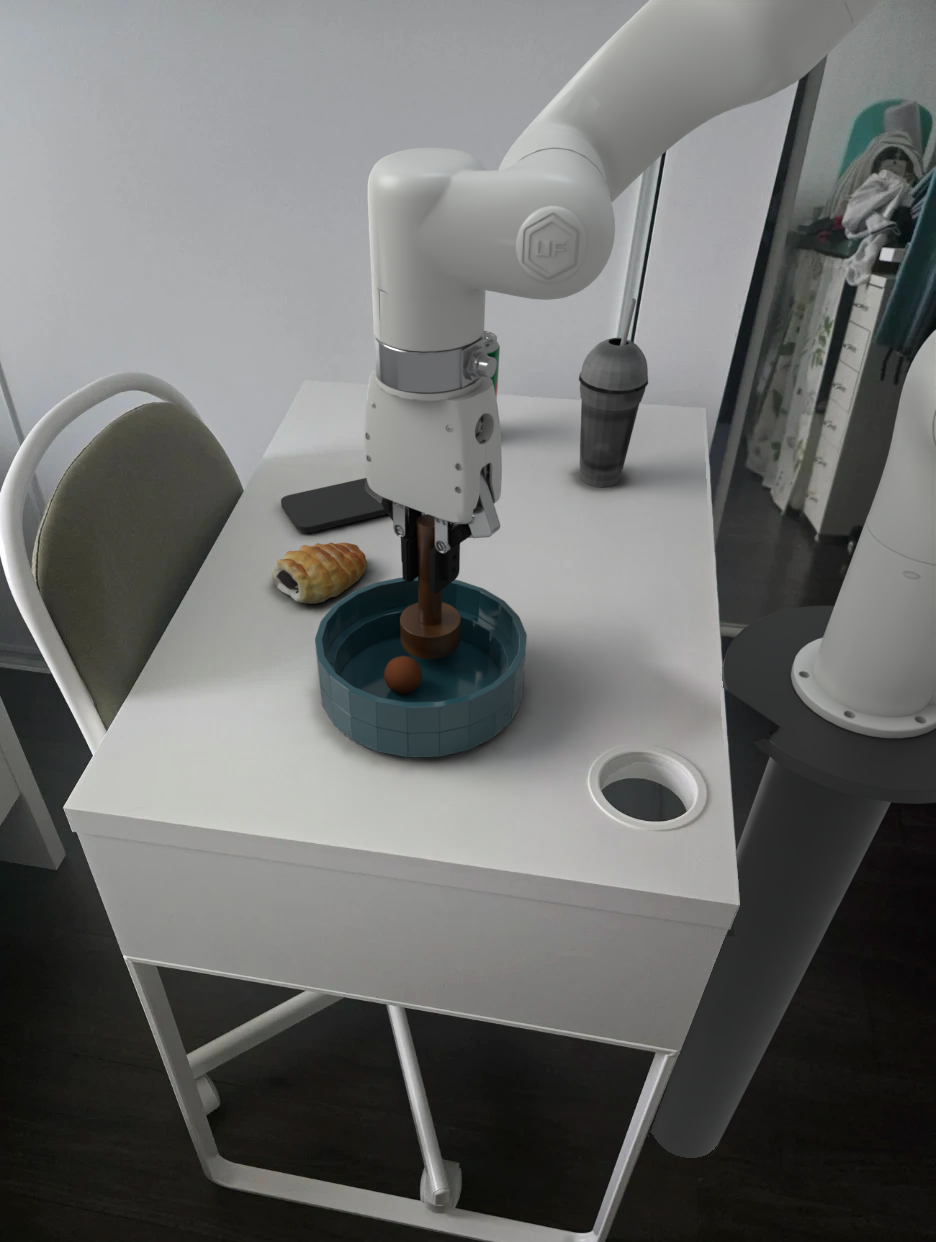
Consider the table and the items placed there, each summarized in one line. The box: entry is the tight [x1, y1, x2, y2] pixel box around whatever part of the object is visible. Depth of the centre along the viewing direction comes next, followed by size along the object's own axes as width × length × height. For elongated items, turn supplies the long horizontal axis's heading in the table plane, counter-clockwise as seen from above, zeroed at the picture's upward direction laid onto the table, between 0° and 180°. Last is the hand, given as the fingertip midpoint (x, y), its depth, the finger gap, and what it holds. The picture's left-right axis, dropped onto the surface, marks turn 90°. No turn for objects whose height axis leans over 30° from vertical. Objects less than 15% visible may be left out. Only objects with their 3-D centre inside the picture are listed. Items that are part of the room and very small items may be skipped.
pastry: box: [271, 542, 368, 605], centre depth 92 cm, size 9×7×4 cm
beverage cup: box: [578, 297, 649, 488], centre depth 101 cm, size 7×7×20 cm
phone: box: [280, 477, 388, 533], centre depth 104 cm, size 7×1×15 cm
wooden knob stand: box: [400, 513, 461, 659], centre depth 78 cm, size 5×5×12 cm
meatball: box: [384, 656, 422, 694], centre depth 79 cm, size 3×3×3 cm
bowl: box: [314, 576, 528, 758], centre depth 79 cm, size 17×17×6 cm
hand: (430, 577), depth 78 cm, fingers closed on wooden knob stand
